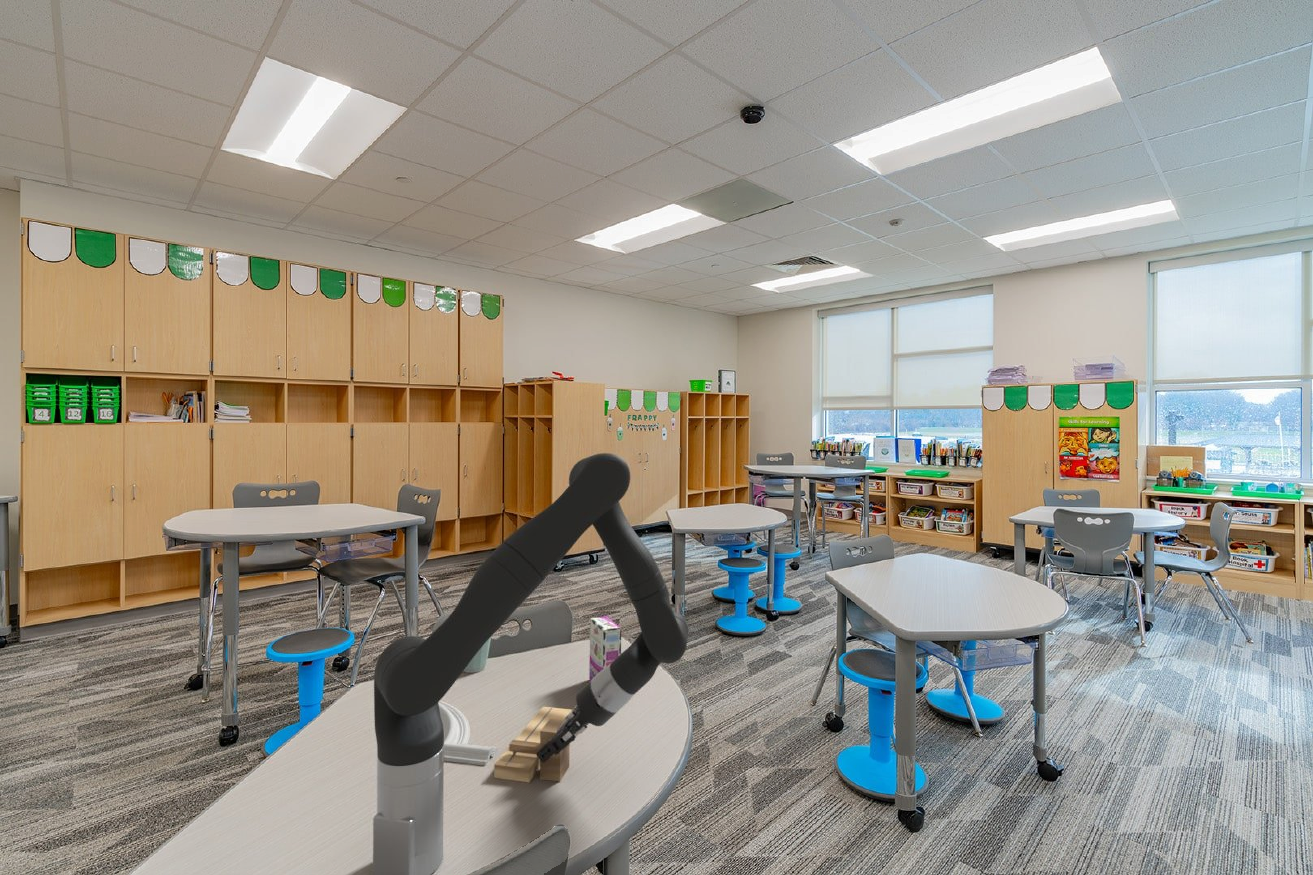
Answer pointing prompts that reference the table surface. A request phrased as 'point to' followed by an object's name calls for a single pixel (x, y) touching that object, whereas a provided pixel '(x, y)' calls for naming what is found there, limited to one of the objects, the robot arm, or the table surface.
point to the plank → (524, 763)
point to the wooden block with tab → (552, 766)
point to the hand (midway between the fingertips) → (545, 749)
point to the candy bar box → (603, 644)
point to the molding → (461, 738)
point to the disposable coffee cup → (479, 659)
